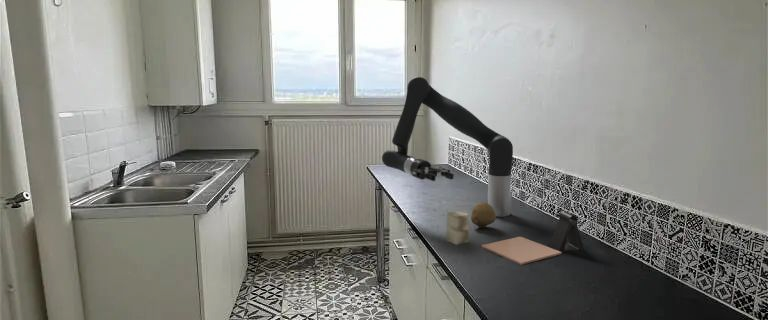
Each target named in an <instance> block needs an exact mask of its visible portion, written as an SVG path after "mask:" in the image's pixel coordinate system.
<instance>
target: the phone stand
mask: <svg viewBox="0 0 768 320" xmlns="http://www.w3.org/2000/svg"><path fill="white" fill-rule="evenodd" d="M558 217H559V218H558V222H557V224H556V227H555V229H554V232H553V235H552V238H551V239H550V242H549V246H550V248H552V249H555V250H557V251H560V252H562V253H564V252H575V251H577V252H578V251H584V250H585V248H584V247H585V246H584V244H583V241H582V237H581V233H580V230H579V228H578V227H579V226H578V217H577V216H576V215H574V214H572V213H570V212H569V211H566V210H564V211H563V210H561V211H560V212H559V214H558ZM567 241H568V243H567Z"/></svg>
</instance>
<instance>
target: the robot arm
mask: <svg viewBox="0 0 768 320" xmlns="http://www.w3.org/2000/svg"><path fill="white" fill-rule="evenodd" d="M406 89H407V90H406V97H405V102H404V105H403V109H402V112H401V115H400V117H399V120H398V123H397V125H396V128H395V130H394V133H393V137H392V141H391V143H392V144H393V145H395V146H396V147H397V151H396V150H393V149H388V150H385V151H384V153H383V154H382V155H381V160H382V163H383V164H384V165H385V166H386V167H388V168H392V169H395V170H399V171H401V172H403V173H406V174H408V175H409V176H411V177H414V178H416V179H419V180H428V181H429V180H430V181H431V182H435V181H436V178H438V179H439V178H445V179H448V180H453V179H454V176H455V175H454V173H452V172H451V170H450V169H447V168H444V167H441V166H439V167H436V166H432V163H430V162H429V161H428V160H426V159H422V158H419V157H417V156H416V157H415V156H411V155H408V154H409V153H408V151H409V143H410V141H411V138H412V134H413V132H414V127H415V124H416V120H417V117H418V113H419V111H420V108H421V106H422V104H423V105H425V106H426V107H428V108H430V109H431V111H433V112H434V113H435V114H436V115H438V117H439V118H441V119H442V120H443V121H444V122H445V123H447V124H448V125H450V126H451V127H452V128H454V129H455V130H456V131H458V132H460V133H461V134H463V135H465V136H466V137H469V138H471V139H472V140H475V141H477V143H479V144H480V145H481V146H483V147H484V148H485V149H486V150H487V151H488V152H489V161H488V162H489V163H488V174H487V175H488V178H487V181H488V182H487V183H488V184H487V185H488V186H487V203H488V204H489V205H491V206H492V208H493V210H494V213H495V215H496V217H497V218H498V217H499V218H502V217H503V218H506V217H508V216H510V215H512V211H513V210H512V209H513V207H512V206H513V191H511V190H512V189H511V187H512V186H511V185H512V184H511V183H512V170H513V159H514V158H513V157H514V156H513V155H514V147H513V143H512V141H511V140H510V139H508V138H507V137H506V136H504V135H502V134H500V133H499V132H497V131H495V130H493V129H491V128H490V127H488V126H487V125H486V124H484V123H483V122H482V121H481V119H479V118H478V117H477V116H476V115H474V114H473V112H471V111H470V110H468V109H467V108H466V107H464V106H463V105H461V104H459V103H458V102H456V101H454V100H452V99H451V98H448V97H446V96H444V95H442V94H441V93H439V91H437V90H436V89H435V88H433V86H431V84H429V82H428V80H427V79H426V78H424V77H423V76H415V77H413V78H411V79H410V80H409V82H408V83H407V88H406Z"/></svg>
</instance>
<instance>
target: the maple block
mask: <svg viewBox="0 0 768 320" xmlns="http://www.w3.org/2000/svg"><path fill="white" fill-rule="evenodd" d="M469 225H470V214H469V213H466V212H463V211H460V210H456V211H451V212H447V213H446V241H447V242H450V243H452V244H454V245H462V244H466V243H469V237H470V236H469V234H470V231H469V230H470V228H469V227H470V226H469Z"/></svg>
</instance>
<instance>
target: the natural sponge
mask: <svg viewBox="0 0 768 320" xmlns="http://www.w3.org/2000/svg"><path fill="white" fill-rule="evenodd" d="M470 221H471V222H472V224H473V225H476V226H477V227H479V228H486V227H487V226H489V225H492V224H493V223H494V222H495V221H496V215H495V213H494V210H493V208H492V206H491V205H489V204H488V202H485V201H483V202H477V203H476V204H474V206H473V207H472V211H471V217H470Z"/></svg>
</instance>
